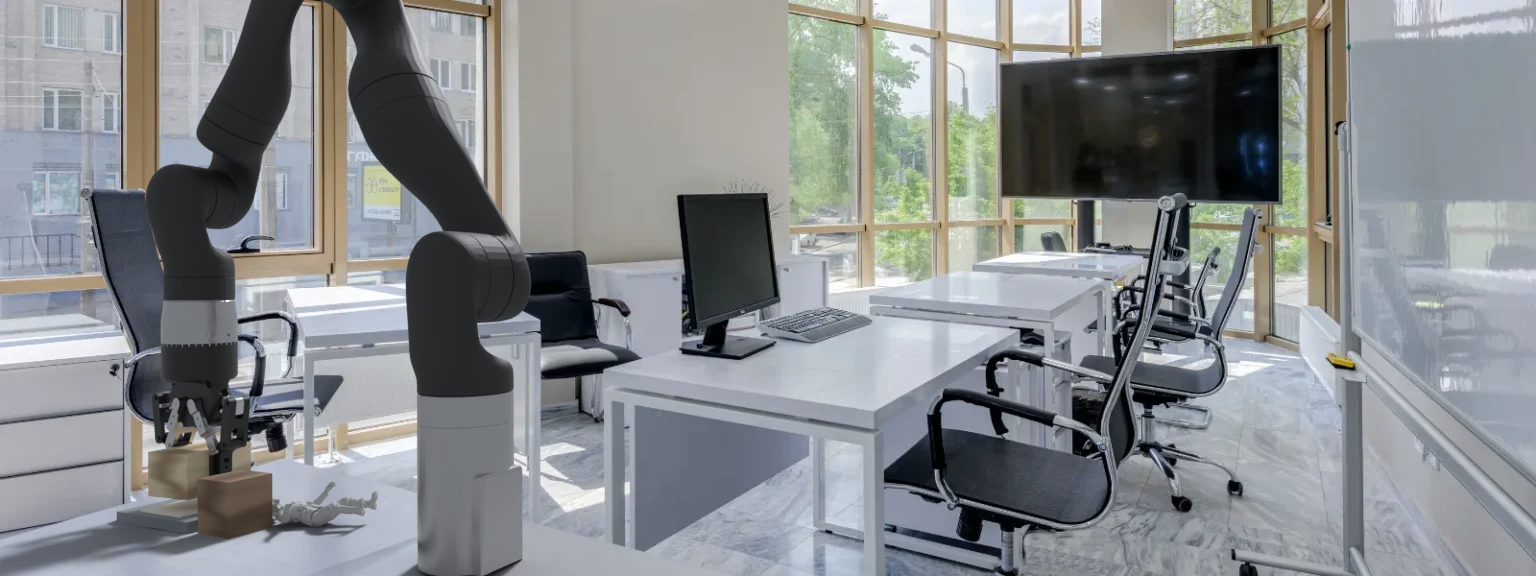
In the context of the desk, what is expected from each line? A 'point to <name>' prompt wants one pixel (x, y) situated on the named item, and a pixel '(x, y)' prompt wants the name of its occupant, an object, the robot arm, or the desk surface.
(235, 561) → the desk surface
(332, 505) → the soldier figure
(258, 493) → the walnut cube
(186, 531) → the board
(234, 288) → the robot arm
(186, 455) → the maple block
